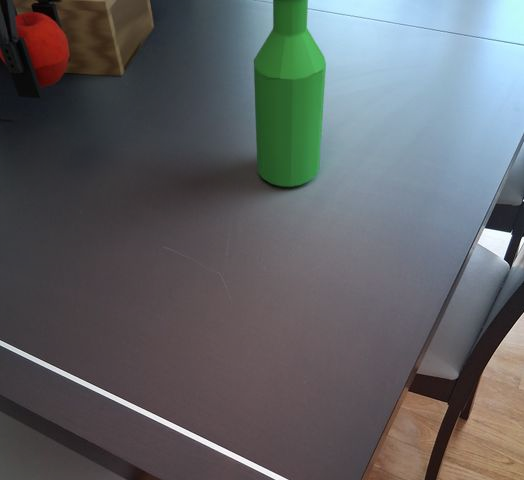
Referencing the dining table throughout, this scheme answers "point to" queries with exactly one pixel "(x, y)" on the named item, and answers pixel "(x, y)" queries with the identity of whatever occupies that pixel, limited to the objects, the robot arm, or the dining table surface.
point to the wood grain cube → (101, 32)
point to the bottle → (289, 98)
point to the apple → (43, 46)
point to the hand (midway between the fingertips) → (45, 77)
